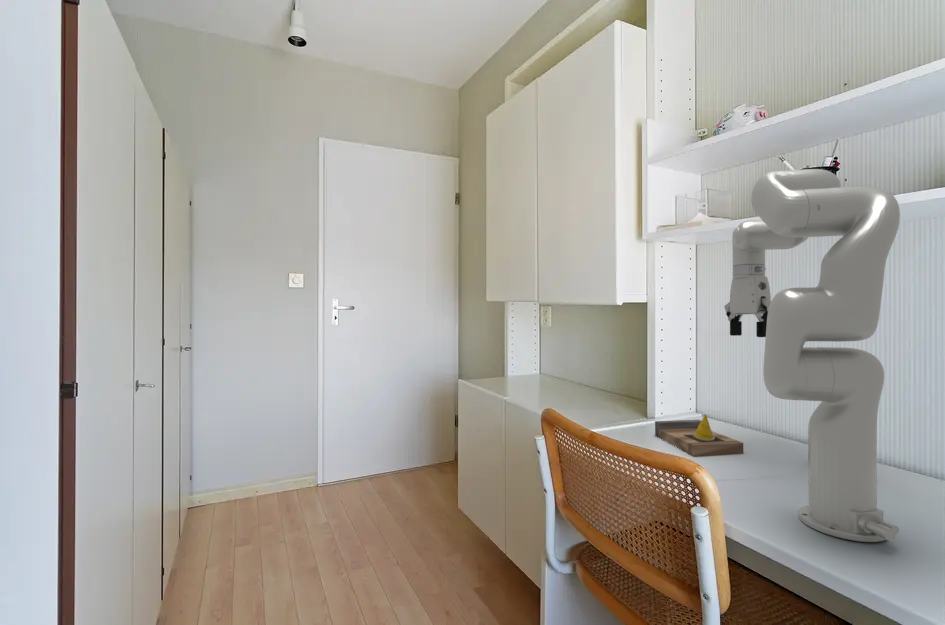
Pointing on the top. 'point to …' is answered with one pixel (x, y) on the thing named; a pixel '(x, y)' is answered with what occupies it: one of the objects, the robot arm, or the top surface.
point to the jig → (682, 438)
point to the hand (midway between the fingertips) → (748, 336)
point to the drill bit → (704, 432)
